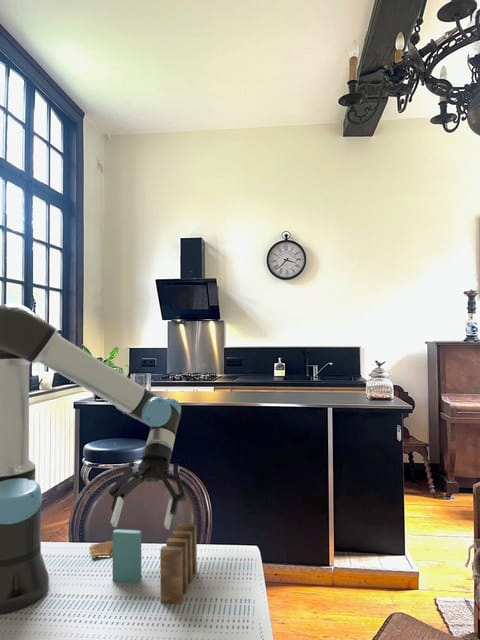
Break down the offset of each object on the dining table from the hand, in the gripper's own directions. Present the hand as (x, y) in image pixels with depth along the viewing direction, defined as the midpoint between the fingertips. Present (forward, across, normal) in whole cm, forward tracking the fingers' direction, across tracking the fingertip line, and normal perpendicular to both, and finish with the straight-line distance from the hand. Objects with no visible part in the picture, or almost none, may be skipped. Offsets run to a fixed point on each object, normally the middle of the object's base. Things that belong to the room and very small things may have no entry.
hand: (139, 526), depth 108 cm
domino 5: (+16, -12, +2) cm, 20 cm away
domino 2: (+8, -12, -7) cm, 16 cm away
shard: (+1, +13, -14) cm, 19 cm away
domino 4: (+13, -12, -1) cm, 18 cm away
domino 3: (+10, -12, -4) cm, 16 cm away
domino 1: (+11, +1, -3) cm, 11 cm away
